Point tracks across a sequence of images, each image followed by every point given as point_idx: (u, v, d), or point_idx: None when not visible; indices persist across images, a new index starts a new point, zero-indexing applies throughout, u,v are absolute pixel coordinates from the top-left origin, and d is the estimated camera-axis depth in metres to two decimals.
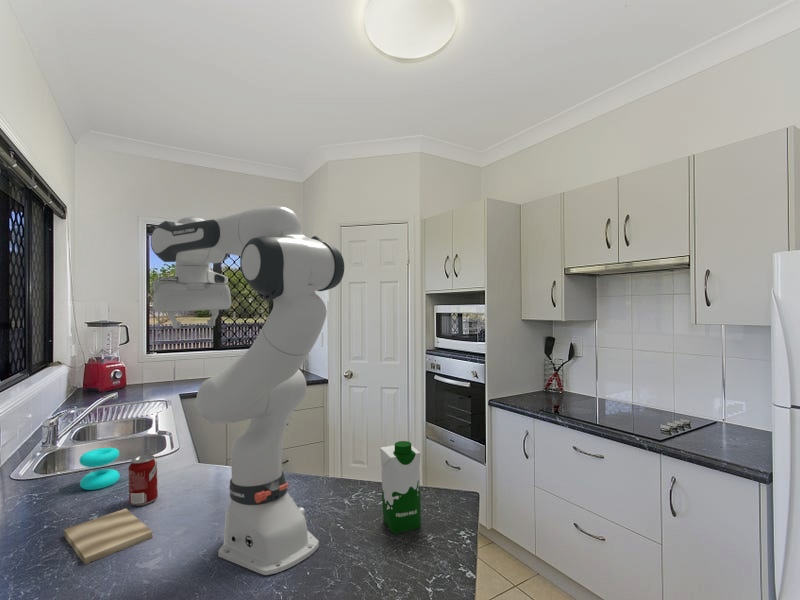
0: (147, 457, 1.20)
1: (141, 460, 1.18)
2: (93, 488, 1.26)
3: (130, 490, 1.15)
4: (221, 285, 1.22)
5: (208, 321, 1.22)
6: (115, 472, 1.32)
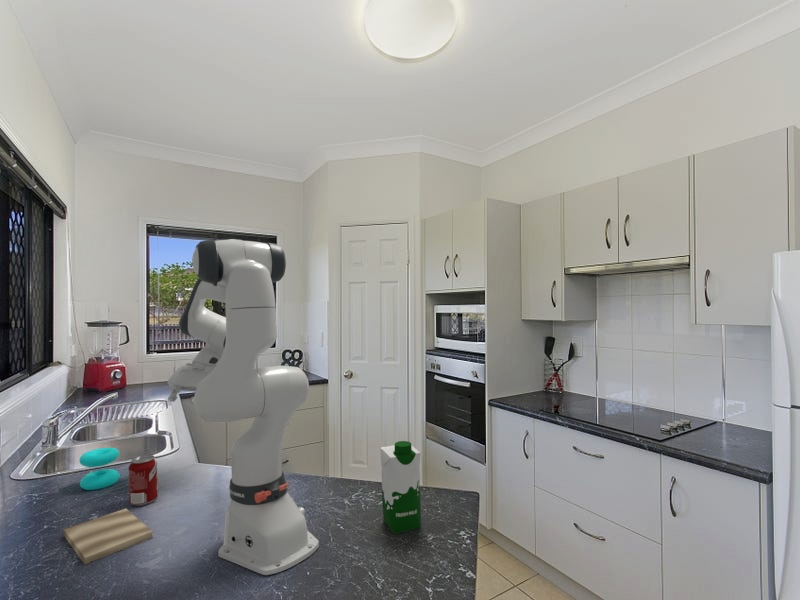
0: (147, 457, 1.20)
1: (141, 460, 1.18)
2: (93, 488, 1.26)
3: (130, 490, 1.15)
4: (213, 366, 1.32)
5: None
6: (115, 472, 1.32)
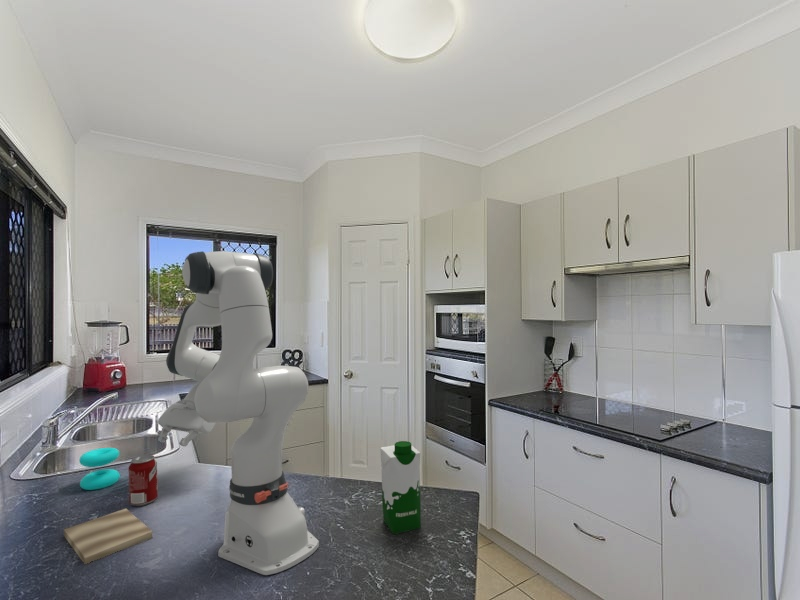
0: (147, 457, 1.20)
1: (141, 460, 1.18)
2: (93, 488, 1.26)
3: (130, 490, 1.15)
4: None
5: None
6: (115, 472, 1.32)
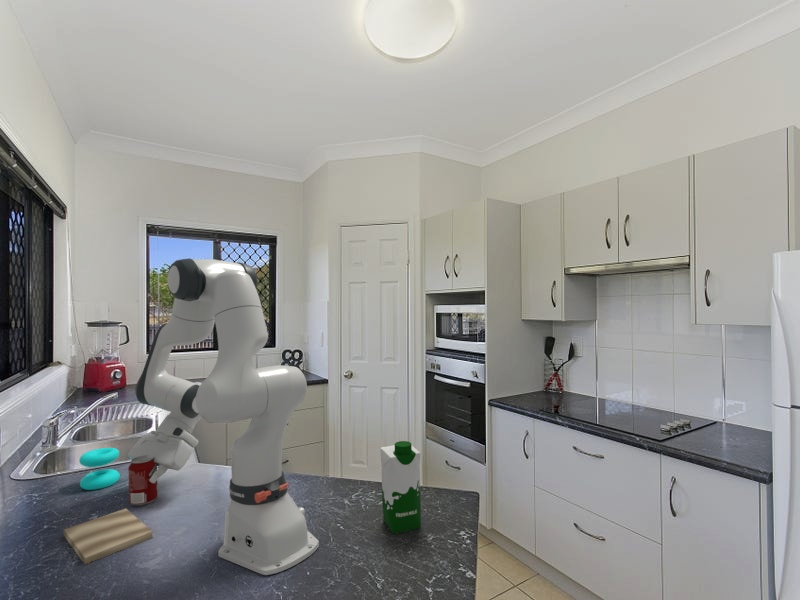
0: (147, 457, 1.20)
1: (141, 460, 1.18)
2: (93, 488, 1.26)
3: (130, 490, 1.15)
4: (177, 439, 1.20)
5: None
6: (115, 472, 1.32)
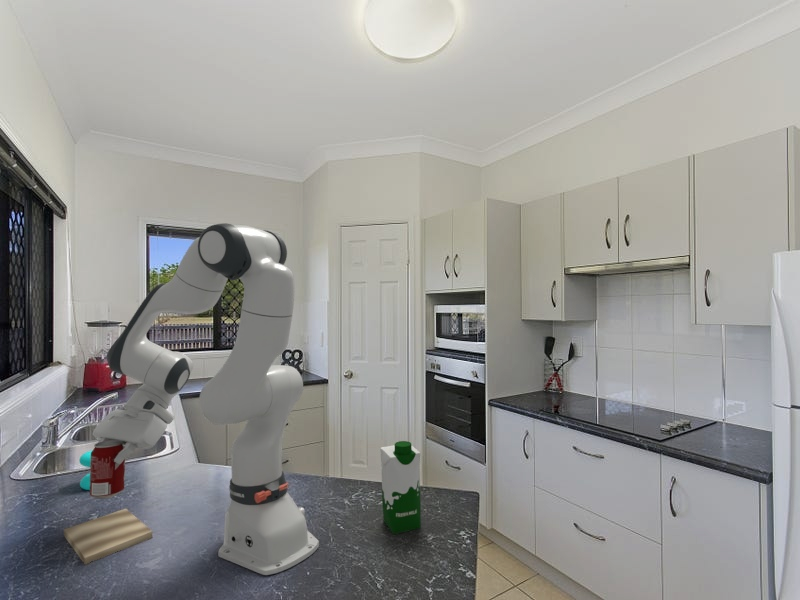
0: (114, 442, 1.03)
1: (106, 445, 1.01)
2: None
3: (91, 479, 0.98)
4: (147, 413, 1.03)
5: None
6: None
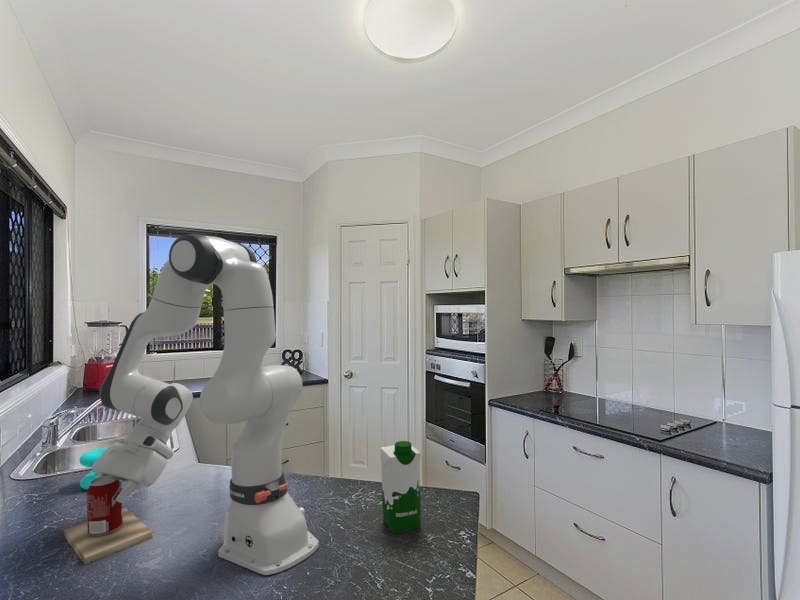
0: (110, 478, 1.02)
1: (102, 481, 1.00)
2: None
3: (89, 518, 0.98)
4: (148, 449, 1.03)
5: None
6: None
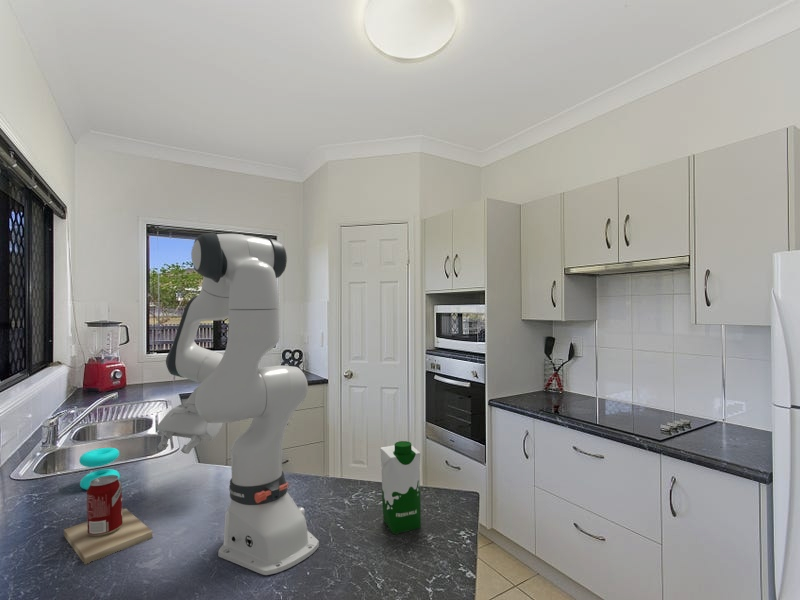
0: (110, 478, 1.02)
1: (102, 481, 1.00)
2: None
3: (89, 518, 0.98)
4: None
5: None
6: (115, 472, 1.32)
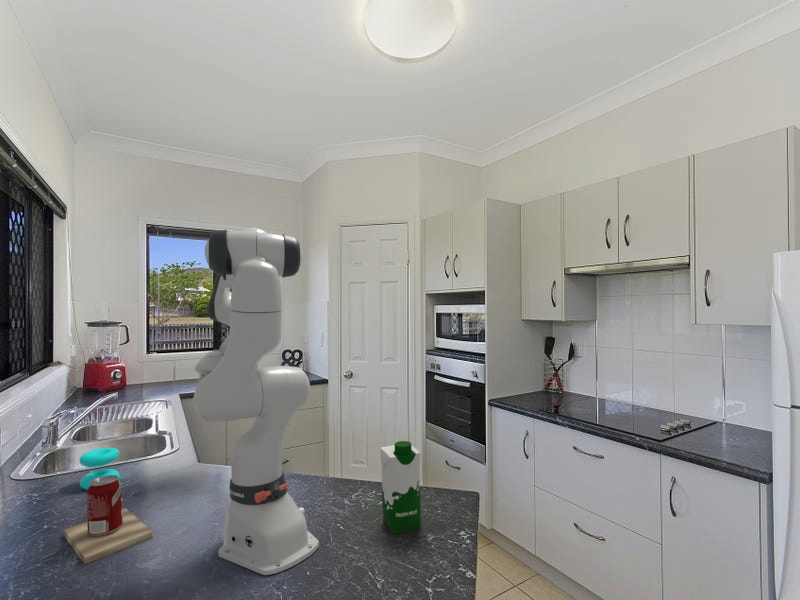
0: (110, 478, 1.02)
1: (102, 481, 1.00)
2: None
3: (89, 518, 0.98)
4: None
5: None
6: (115, 472, 1.32)
